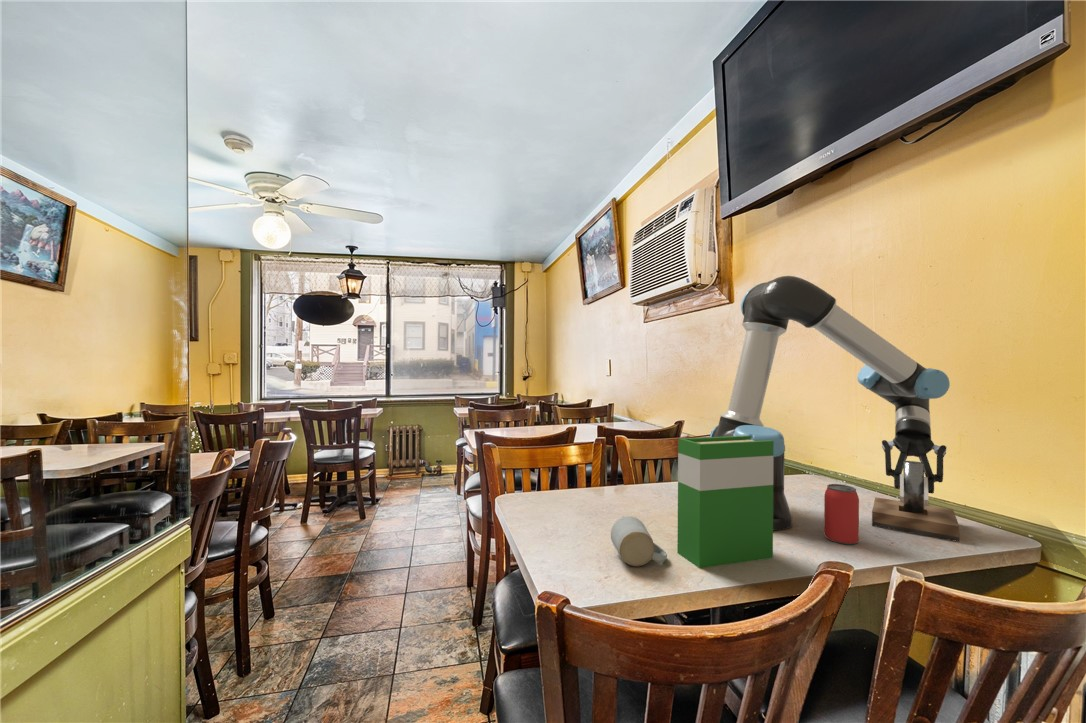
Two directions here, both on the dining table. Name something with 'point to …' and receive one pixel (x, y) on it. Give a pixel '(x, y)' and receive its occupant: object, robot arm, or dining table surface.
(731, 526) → the cereal box
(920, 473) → the steel pin
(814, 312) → the robot arm
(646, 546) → the ceramic mug
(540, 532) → the dining table surface
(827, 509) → the beer can
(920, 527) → the socket block
